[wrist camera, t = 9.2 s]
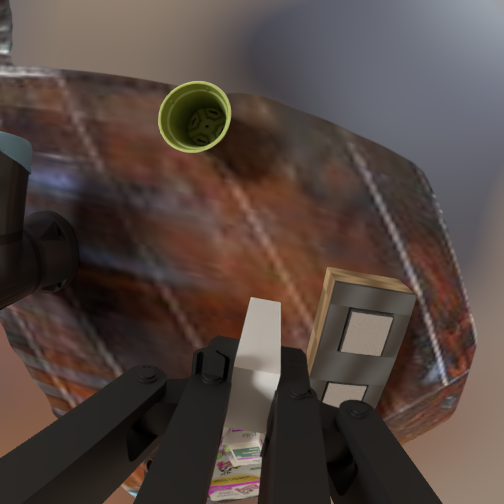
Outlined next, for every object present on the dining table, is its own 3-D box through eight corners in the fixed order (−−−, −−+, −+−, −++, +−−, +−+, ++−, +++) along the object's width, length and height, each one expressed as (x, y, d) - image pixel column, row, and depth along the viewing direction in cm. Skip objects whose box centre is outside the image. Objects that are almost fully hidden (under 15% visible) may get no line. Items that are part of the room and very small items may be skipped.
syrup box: (264, 383, 53) (258, 439, 39) (272, 407, 54) (269, 464, 40) (233, 389, 54) (220, 444, 40) (243, 412, 55) (233, 468, 41)
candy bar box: (269, 413, 55) (264, 479, 39) (278, 430, 55) (276, 495, 39) (215, 425, 56) (198, 487, 40) (225, 442, 57) (212, 502, 41)
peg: (332, 328, 49) (340, 351, 42) (342, 293, 48) (352, 311, 40) (367, 333, 49) (380, 356, 41) (378, 299, 47) (393, 317, 40)
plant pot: (248, 108, 44) (242, 92, 36) (226, 166, 46) (214, 162, 38) (191, 91, 44) (174, 74, 36) (169, 147, 46) (148, 140, 38)
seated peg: (314, 386, 52) (318, 413, 45) (323, 358, 51) (329, 383, 43) (347, 390, 52) (354, 416, 44) (357, 362, 51) (366, 386, 43)
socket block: (293, 397, 53) (294, 426, 46) (327, 266, 48) (336, 282, 40) (356, 403, 53) (364, 431, 45) (398, 279, 48) (417, 295, 40)
